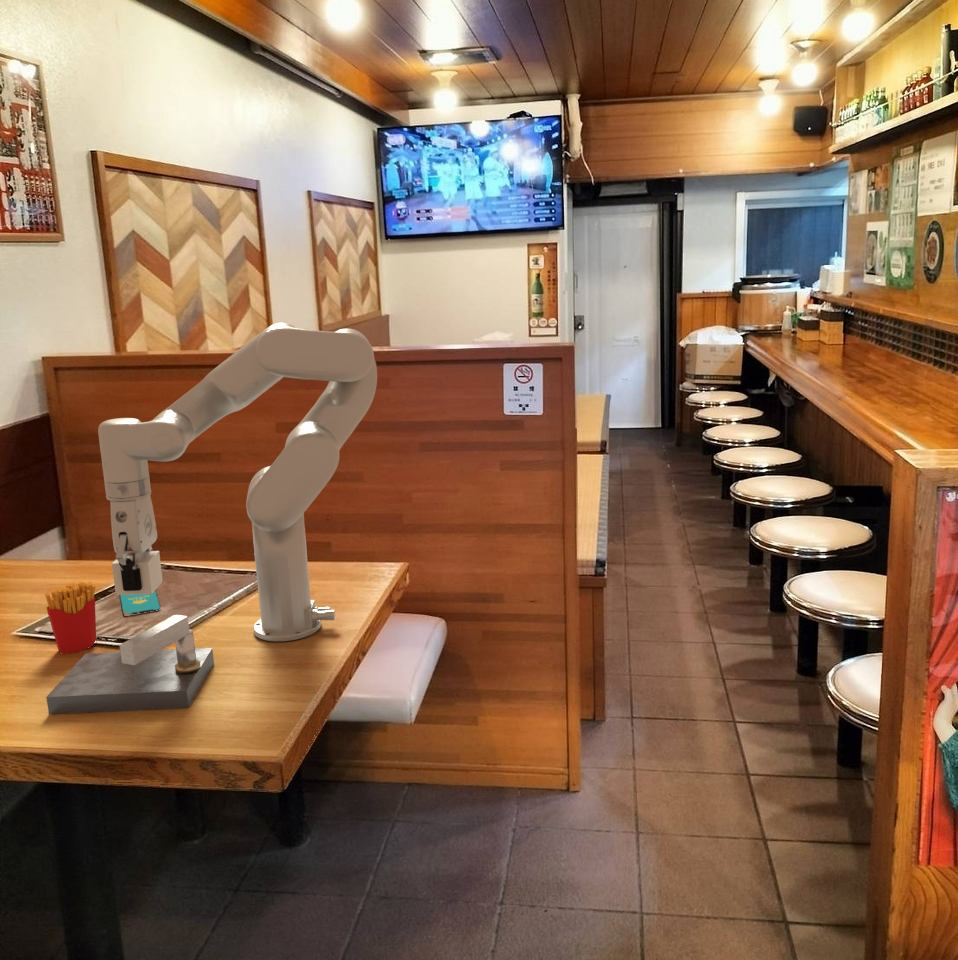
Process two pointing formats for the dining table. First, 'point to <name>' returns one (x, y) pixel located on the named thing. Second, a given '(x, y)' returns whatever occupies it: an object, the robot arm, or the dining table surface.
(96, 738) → the dining table surface
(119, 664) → the base plate
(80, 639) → the french fries
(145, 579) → the cover cap
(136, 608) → the smartphone
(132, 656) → the white bent handle
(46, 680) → the dining table surface
